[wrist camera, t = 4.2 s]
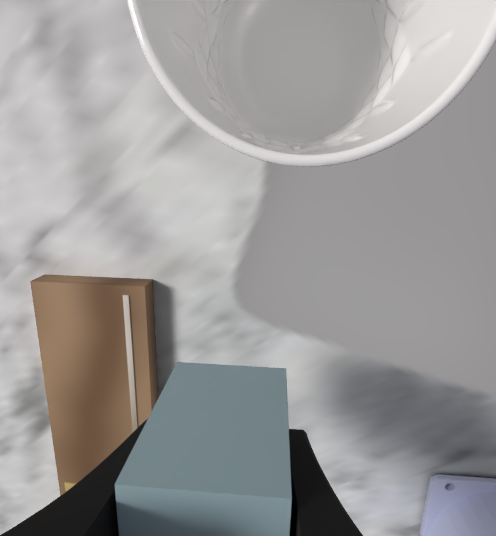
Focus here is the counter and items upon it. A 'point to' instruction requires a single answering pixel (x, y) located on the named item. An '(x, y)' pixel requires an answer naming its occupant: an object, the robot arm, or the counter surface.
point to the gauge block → (211, 457)
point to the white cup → (313, 69)
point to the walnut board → (95, 365)
